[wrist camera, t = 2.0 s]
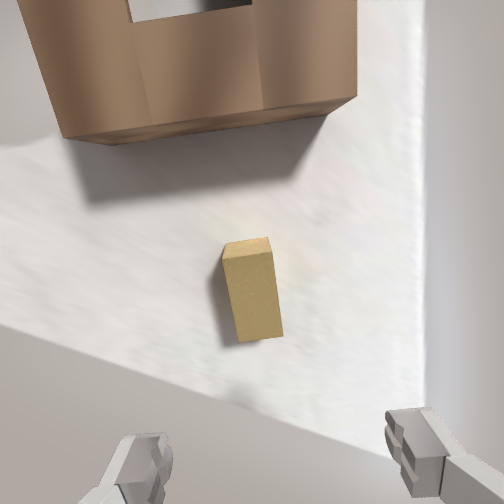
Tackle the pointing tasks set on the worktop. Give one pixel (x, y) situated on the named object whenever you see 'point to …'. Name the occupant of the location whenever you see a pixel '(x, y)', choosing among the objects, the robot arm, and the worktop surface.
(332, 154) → the worktop surface
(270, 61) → the walnut square frame
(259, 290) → the wooden toy block
